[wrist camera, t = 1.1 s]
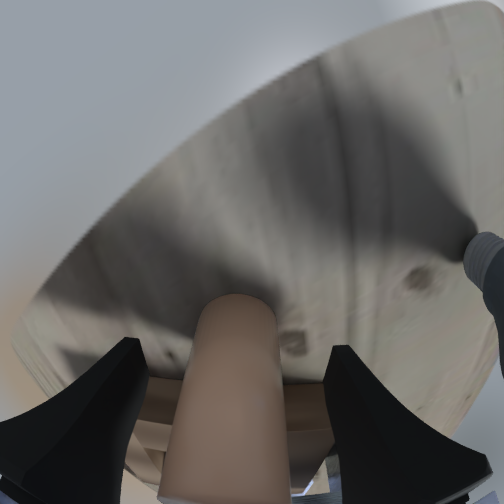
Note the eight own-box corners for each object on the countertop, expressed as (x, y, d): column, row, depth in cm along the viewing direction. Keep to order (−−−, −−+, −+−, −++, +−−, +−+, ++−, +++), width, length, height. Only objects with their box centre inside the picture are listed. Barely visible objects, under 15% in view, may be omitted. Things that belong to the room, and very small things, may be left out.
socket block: (299, 464, 18) (302, 493, 16) (149, 454, 18) (142, 481, 16) (331, 382, 14) (342, 426, 11) (101, 367, 14) (82, 405, 11)
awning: (336, 456, 18) (347, 525, 12) (265, 462, 18) (266, 534, 12) (375, 388, 14) (409, 487, 8) (275, 395, 14) (281, 512, 8)
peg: (274, 354, 13) (283, 519, 5) (202, 352, 13) (172, 512, 5) (279, 294, 11) (302, 494, 4) (195, 292, 11) (139, 482, 4)
